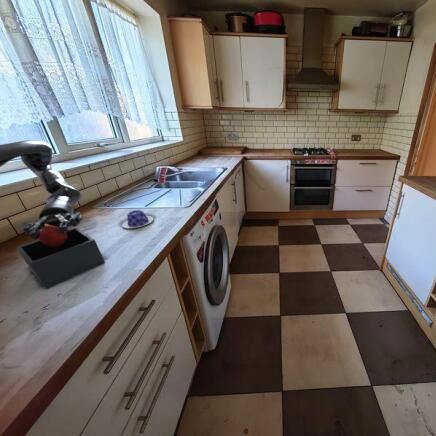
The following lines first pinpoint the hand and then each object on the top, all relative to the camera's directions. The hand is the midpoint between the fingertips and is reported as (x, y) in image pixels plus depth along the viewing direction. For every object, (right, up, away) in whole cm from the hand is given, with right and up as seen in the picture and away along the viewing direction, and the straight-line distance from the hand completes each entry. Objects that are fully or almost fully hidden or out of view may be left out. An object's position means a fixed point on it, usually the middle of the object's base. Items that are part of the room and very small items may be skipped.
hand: (48, 233), depth 66 cm
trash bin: (-2, -11, +8) cm, 14 cm away
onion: (-1, -5, +5) cm, 7 cm away
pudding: (+3, +2, +35) cm, 35 cm away
